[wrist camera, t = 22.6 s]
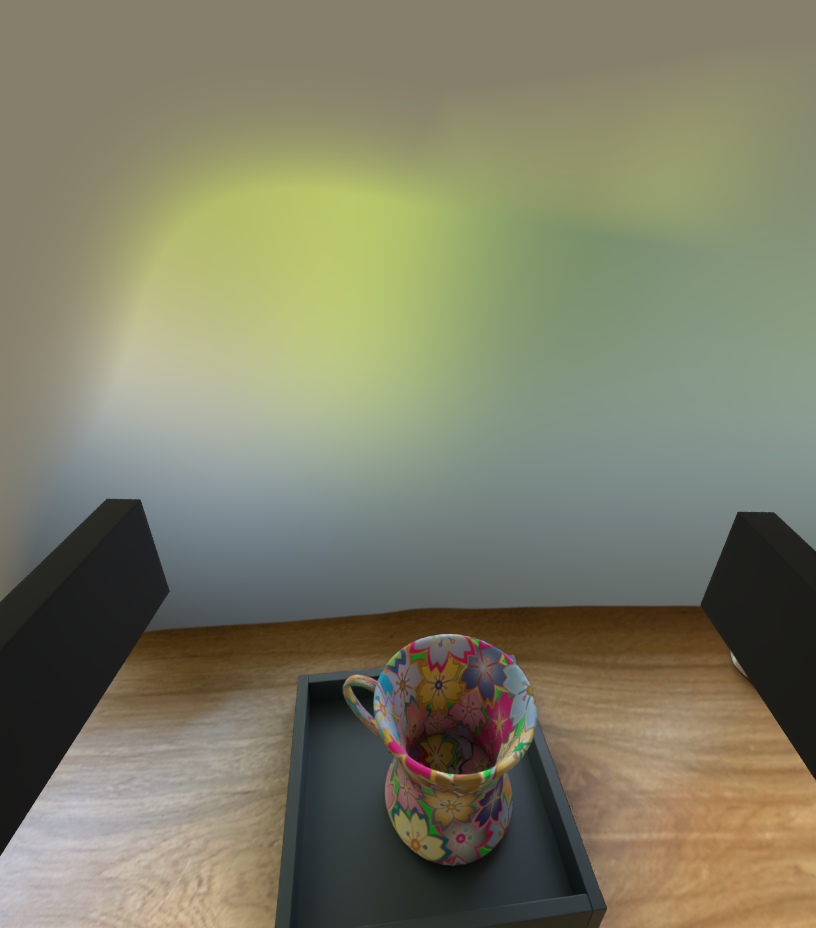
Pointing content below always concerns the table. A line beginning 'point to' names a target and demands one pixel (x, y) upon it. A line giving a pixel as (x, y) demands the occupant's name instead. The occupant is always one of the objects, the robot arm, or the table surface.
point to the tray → (391, 861)
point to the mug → (449, 742)
